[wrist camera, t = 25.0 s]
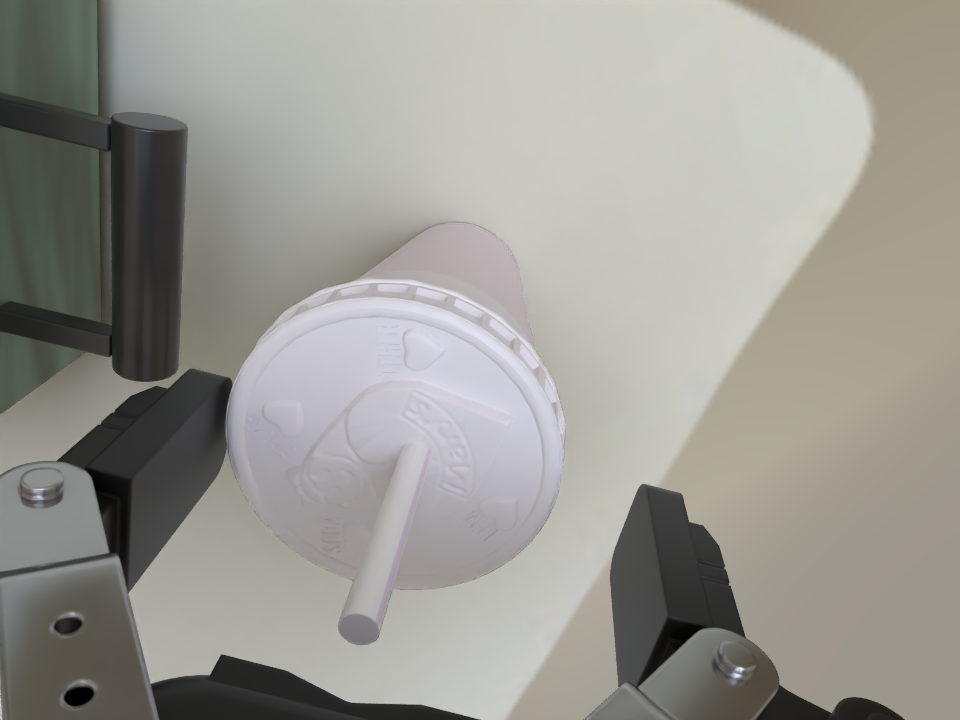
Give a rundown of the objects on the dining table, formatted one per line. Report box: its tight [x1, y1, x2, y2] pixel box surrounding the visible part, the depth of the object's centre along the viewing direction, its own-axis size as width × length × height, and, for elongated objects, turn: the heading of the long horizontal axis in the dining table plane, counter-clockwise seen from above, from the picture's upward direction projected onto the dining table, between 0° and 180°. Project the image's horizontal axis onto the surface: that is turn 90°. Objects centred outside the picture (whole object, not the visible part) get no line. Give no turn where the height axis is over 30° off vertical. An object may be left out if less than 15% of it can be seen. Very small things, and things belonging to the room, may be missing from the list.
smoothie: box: [226, 222, 566, 645], centre depth 16 cm, size 6×6×14 cm
